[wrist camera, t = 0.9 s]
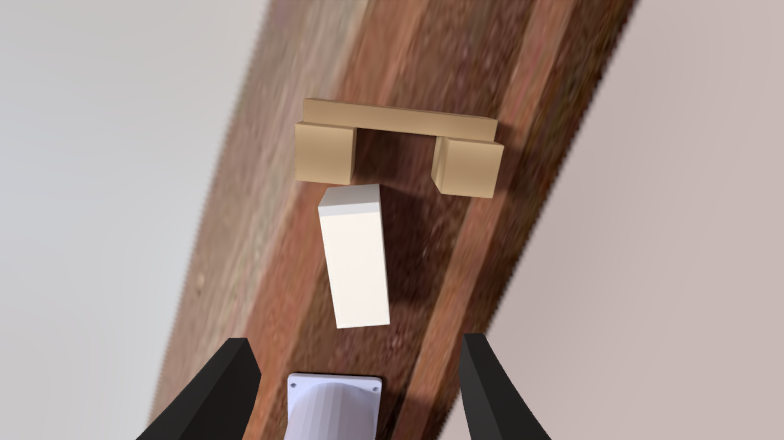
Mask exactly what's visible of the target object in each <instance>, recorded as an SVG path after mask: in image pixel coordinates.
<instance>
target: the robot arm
mask: <svg viewBox="0 0 784 440" xmlns="http://www.w3.org/2000/svg"><path fill="white" fill-rule="evenodd" d="M261 375H262V374H261V372H260V369H259V367H258V364H257V362H256V359H255V357H254V354H253V352H252V349H251V347H250V344H249V342H248V339H247V338H229V339H228V340H226V342H225V343H224V344H223V345H222V346H221V347H220V348H219V350H218V351H217V352H216V353H215V354H214V355H213V356H212V358H211V359H210V360H209V361H208V362H207V363H206V365H205V366H204V367H203V368H202V369H201V370H200V371H199V373H198V374H197V375H196V376H195V377H194V378H193V379H192V381H191V382H190V383H189V384H188V385H187V386H186V387H185V388H184V389H183V390H182V392H181V393H180V394H179V395H178V396H177V397H176V398H175V399H174V400H173V401H172V403H171V404H170V405H169V406H168V407H167V408H166V409H165V410H164V411H163V412H162V413H161V414H160V415H159V416H158V417H157V418H156V419H155V420H154V421H153V422H152V423H151V425H150V426H149V427H148V428H147V429H146V430H145V431H144V432H143V433H142V434H141V435H140V436H139V437H138V438H137V439H136V440H242V438H243V435H244V432H245V430H246V427H247V424H248V421H249V419H250V416H251V413H252V410H253V407H254V404H255V400H256V396H257V392H258V388H259V384H260V379H261ZM459 378H460V386H461V393H462V400H463V406H464V410H465V414H466V419H467V423H468V427H469V432H470V436H471V440H551V438H550V437H549V436H548V434H547V433H546V432H545V430H544V429H543V428H542V426H541V425H540V423H539V422H538V421H537V419H536V418H535V417H534V415H533V414H532V412H531V411H530V409H529V408H528V407H527V405H526V404H525V402H524V401H523V399H522V398H521V396H520V395H519V393H518V391H517V390H516V388H515V387H514V385H513V384H512V383H511V381H510V379H509V378H508V376H507V374H506V373H505V371H504V369H503V368H502V366H501V364H500V363H499V361H498V359H497V357H496V356H495V354H494V352H493V350H492V348H491V347H490V345H489V343H488V341H487V339H486V337H485V335H483V334H482V333H475V334H463V341H462V349H461V356H460V364H459ZM293 383H295V384H293ZM374 387H377V388H374ZM381 388H382V380H381V379H380V378H377V377H359V376H339V375H319V374H299V373H293V374H290V375H289V378H288V426H287V430H286V434H285V437H284V440H375V435H376V427H377V420H378V412H379V404H380V396H381Z"/></svg>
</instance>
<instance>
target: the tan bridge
mask: <svg viewBox="0 0 784 440" xmlns="http://www.w3.org/2000/svg"><path fill="white" fill-rule="evenodd" d="M497 123H498V120H494V119H491V118H487V117H480V116H471V115H462V114H453V113H444V112H435V111H426V110H417V109H408V108H399V107H390V106H381V105H371V104H362V103H353V102H344V101H335V100H326V99H317V98H307V99H303V121H301V122H299V123H296V124H295V180H300V181H311V182H322V183H333V184H344V185H350V182H351V179H352V176H353V172H354V169H355V154H356V139H357V127H359V128H369V129H378V130H388V131H397V132H407V133H416V134H426V135H435V136H437V140H436V146H435V153H434V159H433V166H432V173H431V177H432V179H433V181H434V182H435V184H436V186H437V187H438V189H439V191H440V192H441V194H452V195H463V196H474V197H484V198H492V197H493V193H494V188H495V184H496V180H497V175H498V171H499V166H500V162H501V157H502V153H503V149H504V146H503V145H501V144H499V143H497V142H494V137H495V132H496V127H497Z"/></svg>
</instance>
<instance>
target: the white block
mask: <svg viewBox="0 0 784 440" xmlns="http://www.w3.org/2000/svg"><path fill="white" fill-rule="evenodd" d="M318 210H319V216H320V222H321V229H322V235H323V241H324V247H325V254H326V260H327V266H328V273H329V279H330V285H331V291H332V298H333V304H334V310H335V316H336V323H337V328H347V327H359V326H371V325H384V324H390V320H389V299H388V283H387V272H386V260H385V248H384V237H383V225H382V213H381V202H380V190H379V184H369V185H356V186H343V187H330V188H328V189H327V190H326V192H325V194H324V196H323V198H322V200H321V202H320V204H319V206H318Z"/></svg>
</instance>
